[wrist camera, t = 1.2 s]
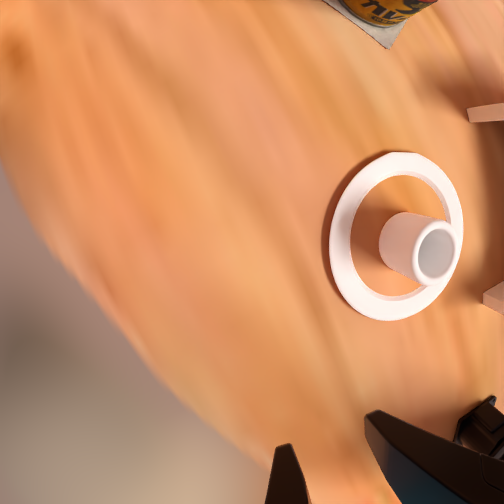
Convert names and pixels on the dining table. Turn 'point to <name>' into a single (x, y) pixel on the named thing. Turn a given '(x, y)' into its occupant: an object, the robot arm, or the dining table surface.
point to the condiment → (380, 15)
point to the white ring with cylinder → (399, 239)
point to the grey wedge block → (500, 295)
